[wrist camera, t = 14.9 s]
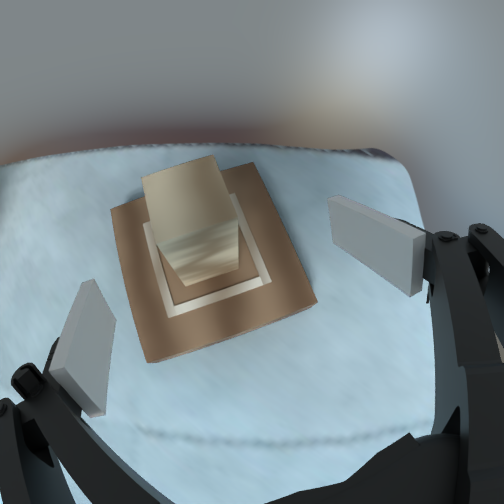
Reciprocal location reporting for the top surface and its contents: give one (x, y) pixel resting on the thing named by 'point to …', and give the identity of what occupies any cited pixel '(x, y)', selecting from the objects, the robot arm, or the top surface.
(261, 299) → the base board
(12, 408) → the robot arm
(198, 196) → the beech pillar
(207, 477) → the top surface
